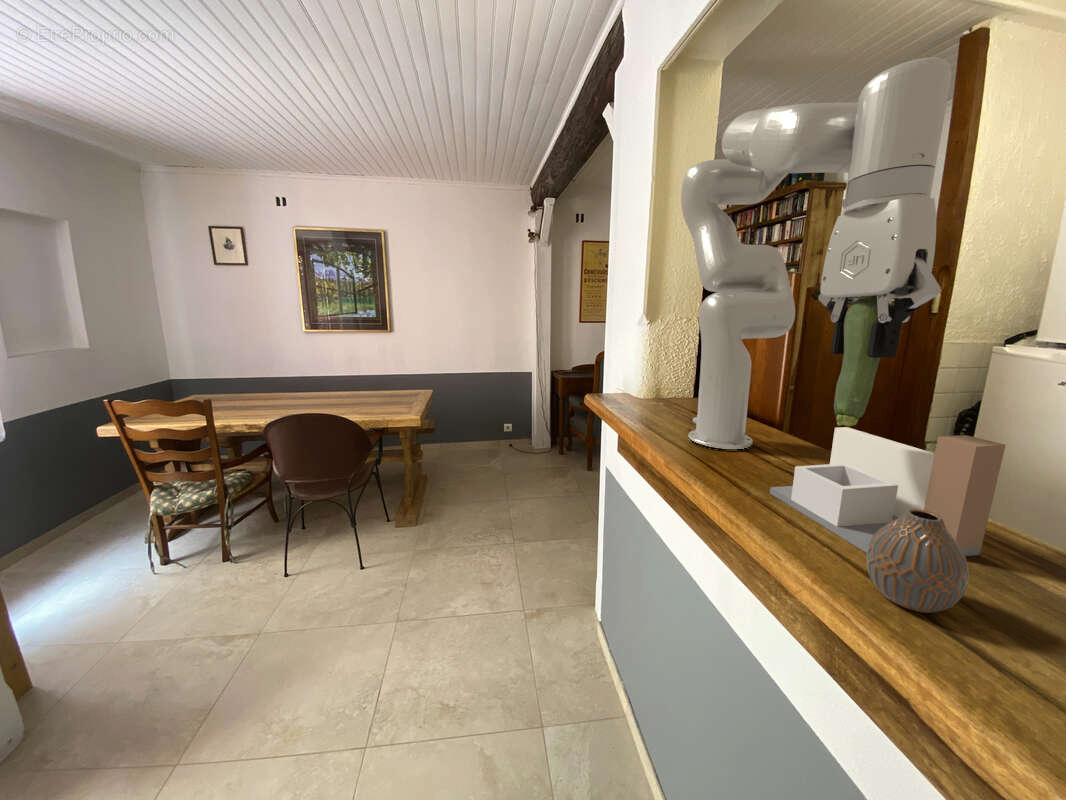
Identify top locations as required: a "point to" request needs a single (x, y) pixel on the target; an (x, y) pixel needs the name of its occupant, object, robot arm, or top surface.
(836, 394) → the vegetable
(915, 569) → the vase
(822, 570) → the top surface
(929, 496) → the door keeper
